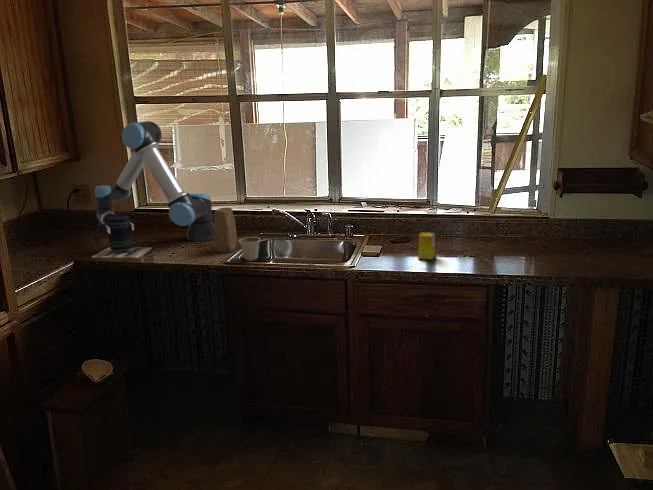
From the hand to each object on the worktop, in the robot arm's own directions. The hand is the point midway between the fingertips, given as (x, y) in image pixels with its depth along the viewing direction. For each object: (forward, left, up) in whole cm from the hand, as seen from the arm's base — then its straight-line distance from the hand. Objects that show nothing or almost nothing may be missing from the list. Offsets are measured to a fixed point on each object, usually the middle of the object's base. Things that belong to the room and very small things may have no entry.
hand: (121, 228), depth 265 cm
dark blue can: (+3, -3, -10) cm, 11 cm away
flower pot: (-61, +3, -13) cm, 63 cm away
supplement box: (-138, +1, -13) cm, 139 cm away
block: (-46, -10, -13) cm, 49 cm away
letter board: (+3, -3, -13) cm, 13 cm away
